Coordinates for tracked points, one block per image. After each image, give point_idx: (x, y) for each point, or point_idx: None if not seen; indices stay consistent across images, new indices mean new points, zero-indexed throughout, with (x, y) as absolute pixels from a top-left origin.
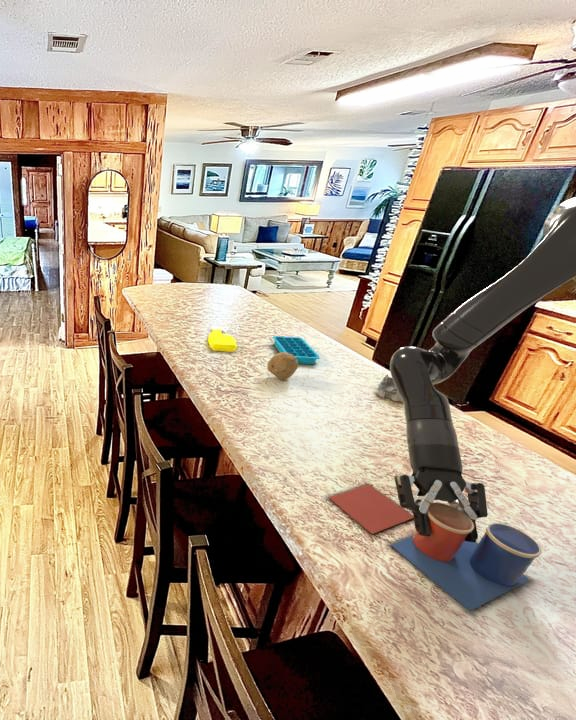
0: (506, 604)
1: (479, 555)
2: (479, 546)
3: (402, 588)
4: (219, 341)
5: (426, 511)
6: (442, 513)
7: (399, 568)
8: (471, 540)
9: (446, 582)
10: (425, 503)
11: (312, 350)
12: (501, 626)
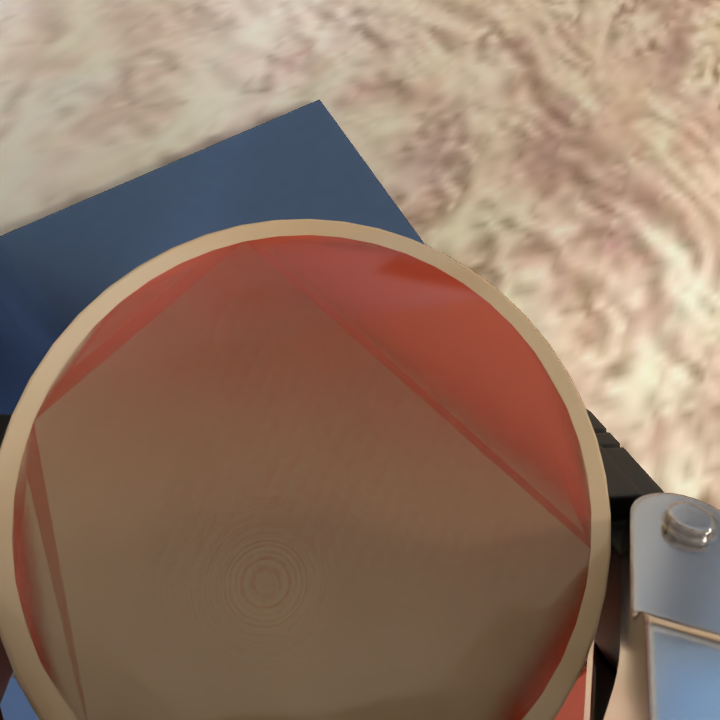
0: (66, 167)
1: None
2: (5, 394)
3: (610, 182)
4: None
5: (635, 516)
6: (407, 529)
7: (588, 305)
8: None
9: None
10: (706, 620)
11: None
12: (202, 52)
